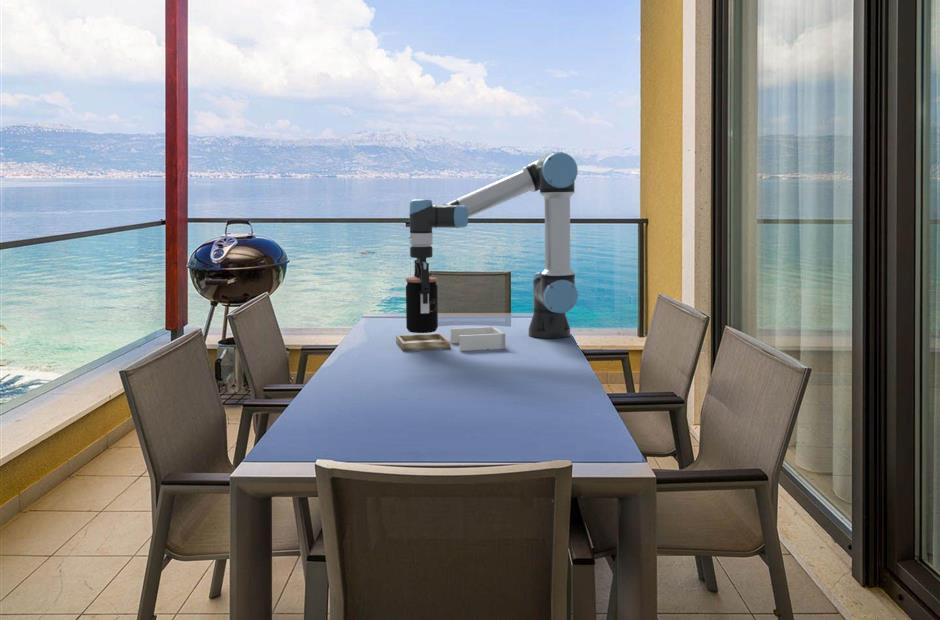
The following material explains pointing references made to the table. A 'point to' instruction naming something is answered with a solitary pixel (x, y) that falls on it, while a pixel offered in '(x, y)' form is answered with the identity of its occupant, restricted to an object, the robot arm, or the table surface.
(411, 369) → the table surface
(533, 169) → the robot arm
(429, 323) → the coffee jar
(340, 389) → the table surface
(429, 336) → the tray
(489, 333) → the frame
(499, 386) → the table surface
